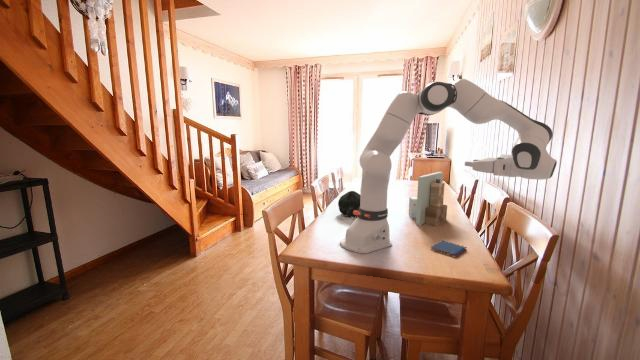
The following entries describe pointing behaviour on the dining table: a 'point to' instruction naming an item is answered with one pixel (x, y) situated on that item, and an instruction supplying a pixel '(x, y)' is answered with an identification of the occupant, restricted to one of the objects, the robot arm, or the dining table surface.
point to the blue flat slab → (448, 248)
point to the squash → (349, 203)
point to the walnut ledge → (435, 215)
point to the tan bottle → (437, 194)
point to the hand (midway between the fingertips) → (469, 162)
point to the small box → (412, 207)
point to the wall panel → (425, 194)
